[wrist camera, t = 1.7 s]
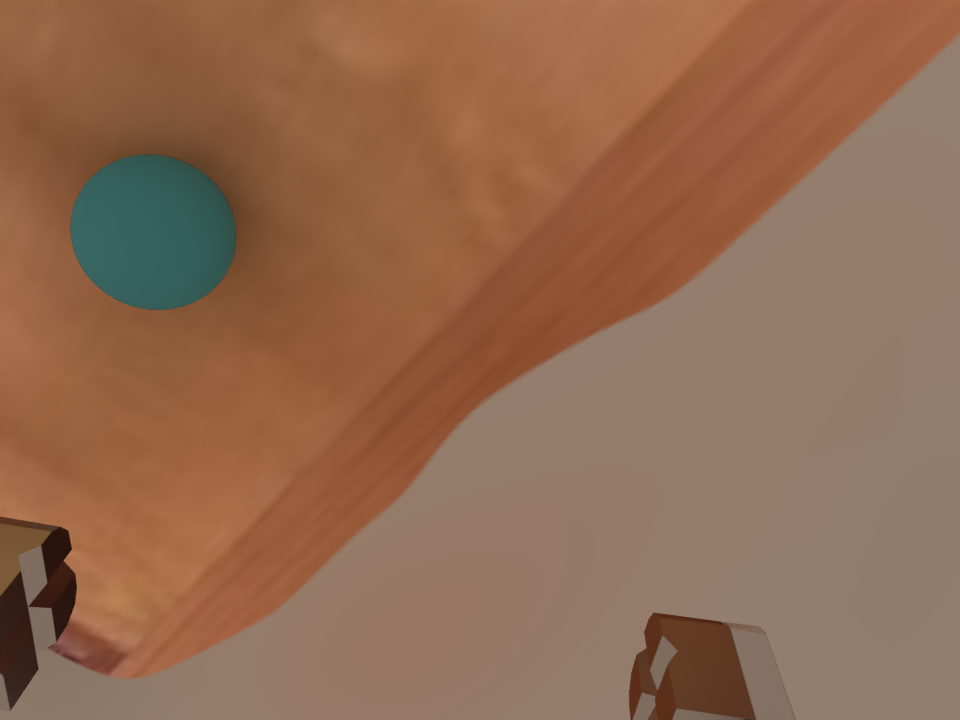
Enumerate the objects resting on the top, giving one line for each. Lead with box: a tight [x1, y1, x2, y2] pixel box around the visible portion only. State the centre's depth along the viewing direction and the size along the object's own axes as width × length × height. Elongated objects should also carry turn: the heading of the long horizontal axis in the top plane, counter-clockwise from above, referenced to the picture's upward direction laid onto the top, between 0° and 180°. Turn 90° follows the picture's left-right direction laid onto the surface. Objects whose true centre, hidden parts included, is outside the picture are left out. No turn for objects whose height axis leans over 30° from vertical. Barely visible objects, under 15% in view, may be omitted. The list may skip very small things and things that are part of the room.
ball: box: [70, 154, 236, 310], centre depth 31 cm, size 6×6×6 cm
